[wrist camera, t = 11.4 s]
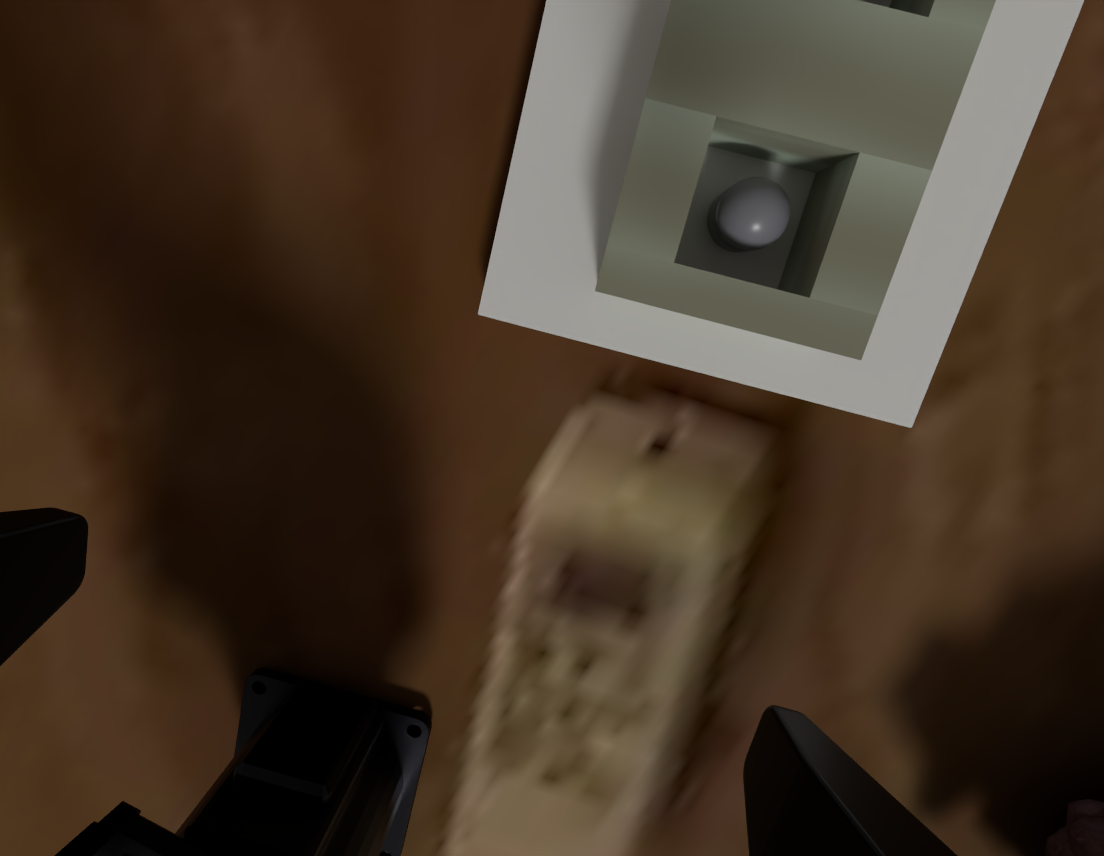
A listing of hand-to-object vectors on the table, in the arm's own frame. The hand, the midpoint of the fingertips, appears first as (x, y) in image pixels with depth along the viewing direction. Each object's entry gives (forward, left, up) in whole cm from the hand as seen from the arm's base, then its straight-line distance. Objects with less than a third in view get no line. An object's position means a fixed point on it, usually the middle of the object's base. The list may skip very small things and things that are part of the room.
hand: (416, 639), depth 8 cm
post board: (+10, -4, -12) cm, 16 cm away
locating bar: (+10, -4, -10) cm, 15 cm away
